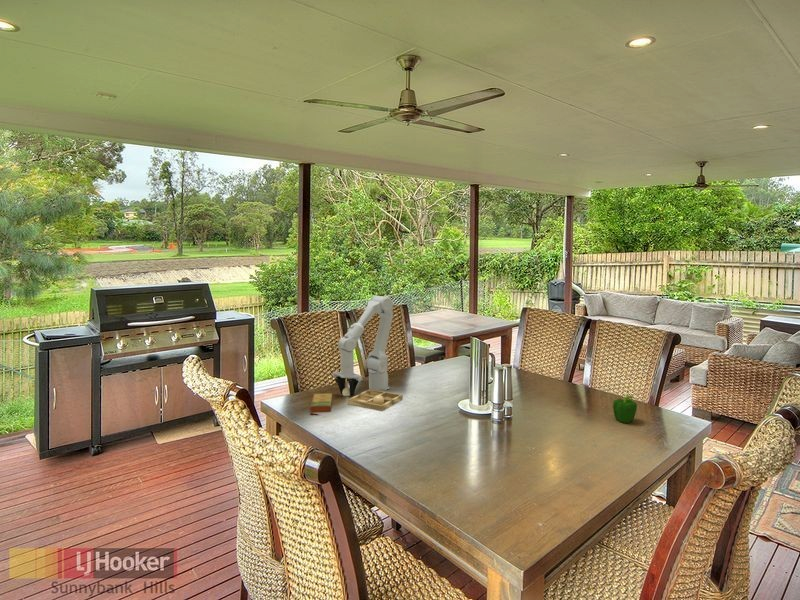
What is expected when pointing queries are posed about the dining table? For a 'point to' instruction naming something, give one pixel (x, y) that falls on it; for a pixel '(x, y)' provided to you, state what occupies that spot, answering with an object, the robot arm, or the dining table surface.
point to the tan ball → (378, 400)
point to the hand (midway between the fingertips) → (347, 394)
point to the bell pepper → (624, 409)
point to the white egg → (346, 391)
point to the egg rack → (367, 399)
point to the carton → (321, 403)
